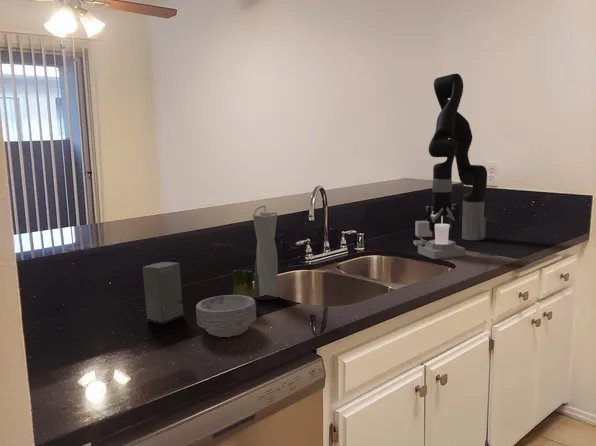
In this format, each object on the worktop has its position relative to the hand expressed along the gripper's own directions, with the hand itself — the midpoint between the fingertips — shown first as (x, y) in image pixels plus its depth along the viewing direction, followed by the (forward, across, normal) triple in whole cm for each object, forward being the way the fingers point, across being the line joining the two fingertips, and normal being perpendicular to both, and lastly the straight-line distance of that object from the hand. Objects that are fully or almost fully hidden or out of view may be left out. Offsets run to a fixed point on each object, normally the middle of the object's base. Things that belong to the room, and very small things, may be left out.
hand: (441, 230), depth 218 cm
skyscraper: (+10, +80, +25) cm, 84 cm away
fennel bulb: (+10, +90, +35) cm, 97 cm away
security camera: (+10, -4, -20) cm, 23 cm away
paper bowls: (+10, +98, +50) cm, 110 cm away
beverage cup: (+7, 0, 0) cm, 7 cm away
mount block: (+10, 0, 0) cm, 10 cm away
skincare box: (+10, +112, +34) cm, 117 cm away
